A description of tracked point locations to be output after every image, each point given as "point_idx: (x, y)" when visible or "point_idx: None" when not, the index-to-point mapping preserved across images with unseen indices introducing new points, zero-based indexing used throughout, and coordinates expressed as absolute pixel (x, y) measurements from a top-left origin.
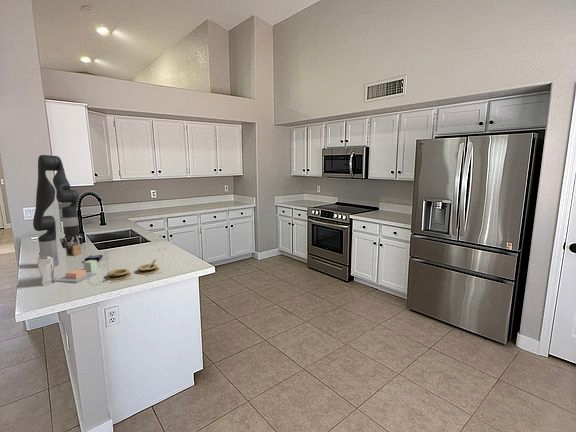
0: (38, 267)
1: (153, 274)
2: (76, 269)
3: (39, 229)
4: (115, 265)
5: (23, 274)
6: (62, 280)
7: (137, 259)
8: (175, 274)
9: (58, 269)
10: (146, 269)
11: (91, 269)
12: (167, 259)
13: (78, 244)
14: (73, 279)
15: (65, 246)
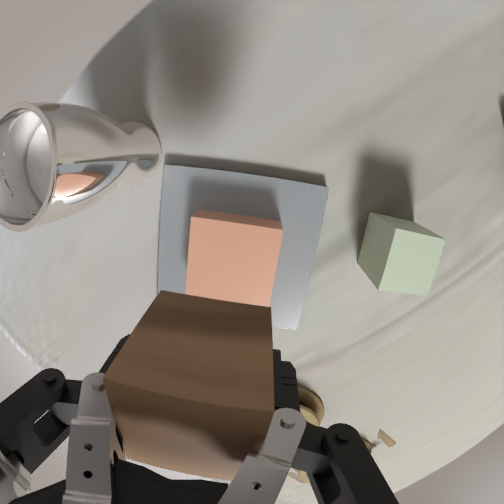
0: (33, 137)
1: (289, 475)
2: (279, 238)
3: None
4: (446, 319)
5: None
6: (160, 217)
7: (497, 351)
8: (284, 500)
9: (395, 23)
10: (299, 477)
11: (363, 269)
12: (450, 436)
13: (228, 475)
14: (180, 273)
15: (43, 419)
